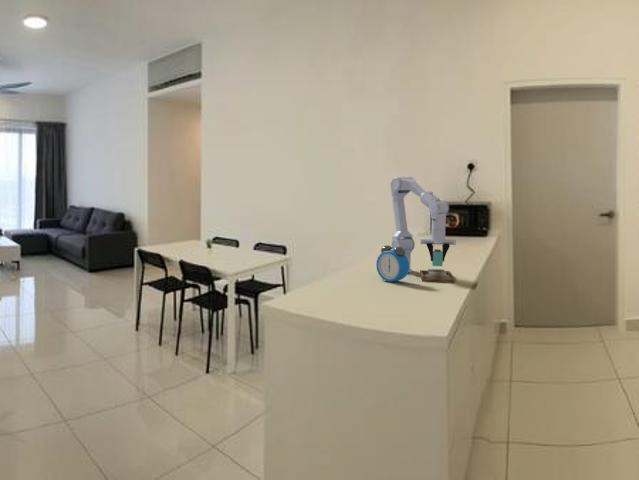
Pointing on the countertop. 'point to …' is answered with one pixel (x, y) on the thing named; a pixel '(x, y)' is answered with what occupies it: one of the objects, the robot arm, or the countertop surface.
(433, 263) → the connector
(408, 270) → the robot arm
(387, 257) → the alarm clock
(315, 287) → the countertop surface
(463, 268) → the countertop surface
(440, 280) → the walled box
